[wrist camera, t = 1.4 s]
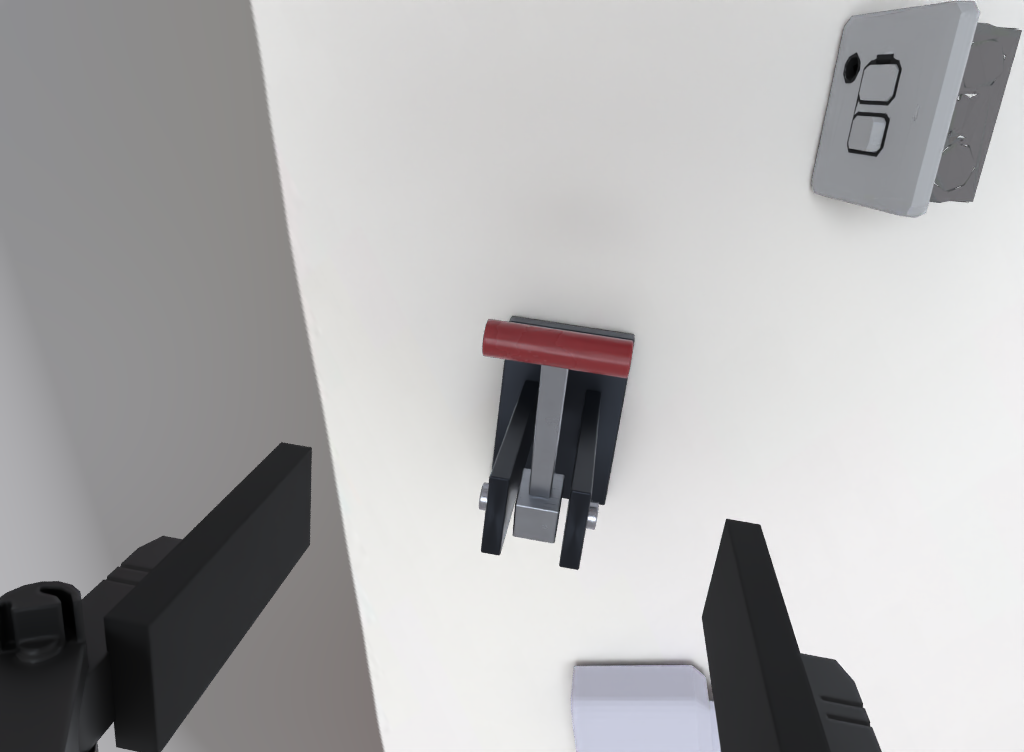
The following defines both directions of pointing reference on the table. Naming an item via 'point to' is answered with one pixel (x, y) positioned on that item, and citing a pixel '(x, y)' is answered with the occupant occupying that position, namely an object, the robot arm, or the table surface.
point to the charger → (642, 709)
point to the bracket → (579, 448)
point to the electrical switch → (913, 107)
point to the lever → (550, 406)
